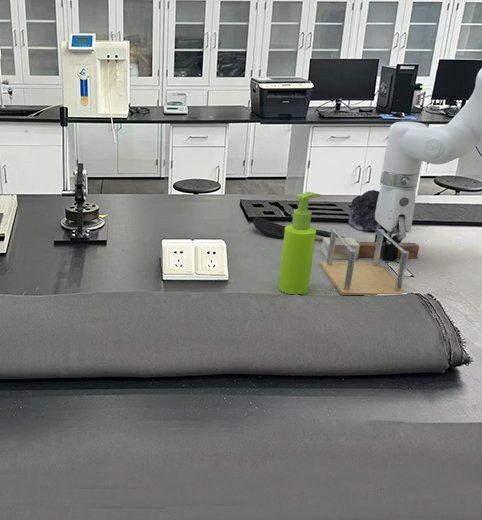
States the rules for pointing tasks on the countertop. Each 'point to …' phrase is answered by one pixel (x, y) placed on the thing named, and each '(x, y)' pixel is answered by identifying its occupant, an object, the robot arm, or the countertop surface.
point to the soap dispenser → (298, 249)
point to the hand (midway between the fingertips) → (384, 254)
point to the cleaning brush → (363, 248)
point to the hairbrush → (279, 228)
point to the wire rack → (364, 270)
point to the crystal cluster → (364, 211)
